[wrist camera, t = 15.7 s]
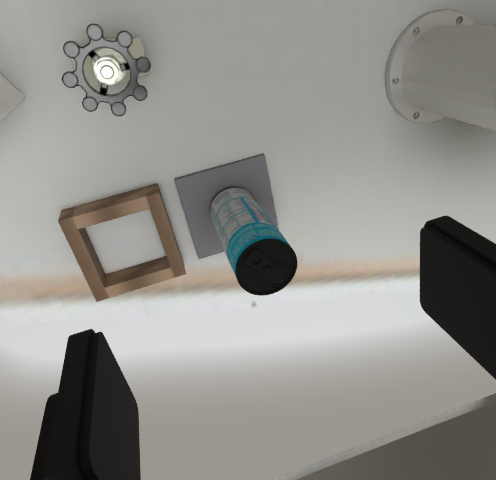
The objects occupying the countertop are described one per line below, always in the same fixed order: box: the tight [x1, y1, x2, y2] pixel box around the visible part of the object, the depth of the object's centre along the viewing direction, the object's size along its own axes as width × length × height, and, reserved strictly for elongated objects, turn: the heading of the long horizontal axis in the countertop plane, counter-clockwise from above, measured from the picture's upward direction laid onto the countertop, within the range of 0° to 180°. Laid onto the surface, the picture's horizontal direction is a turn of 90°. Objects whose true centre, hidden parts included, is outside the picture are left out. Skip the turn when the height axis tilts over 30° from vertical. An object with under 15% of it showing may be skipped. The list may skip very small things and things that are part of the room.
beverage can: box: [210, 188, 297, 295], centre depth 45 cm, size 6×6×15 cm
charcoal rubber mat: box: [174, 154, 279, 259], centre depth 52 cm, size 11×11×1 cm
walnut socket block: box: [58, 184, 186, 302], centre depth 49 cm, size 11×11×3 cm
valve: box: [62, 24, 151, 116], centre depth 37 cm, size 7×7×12 cm
